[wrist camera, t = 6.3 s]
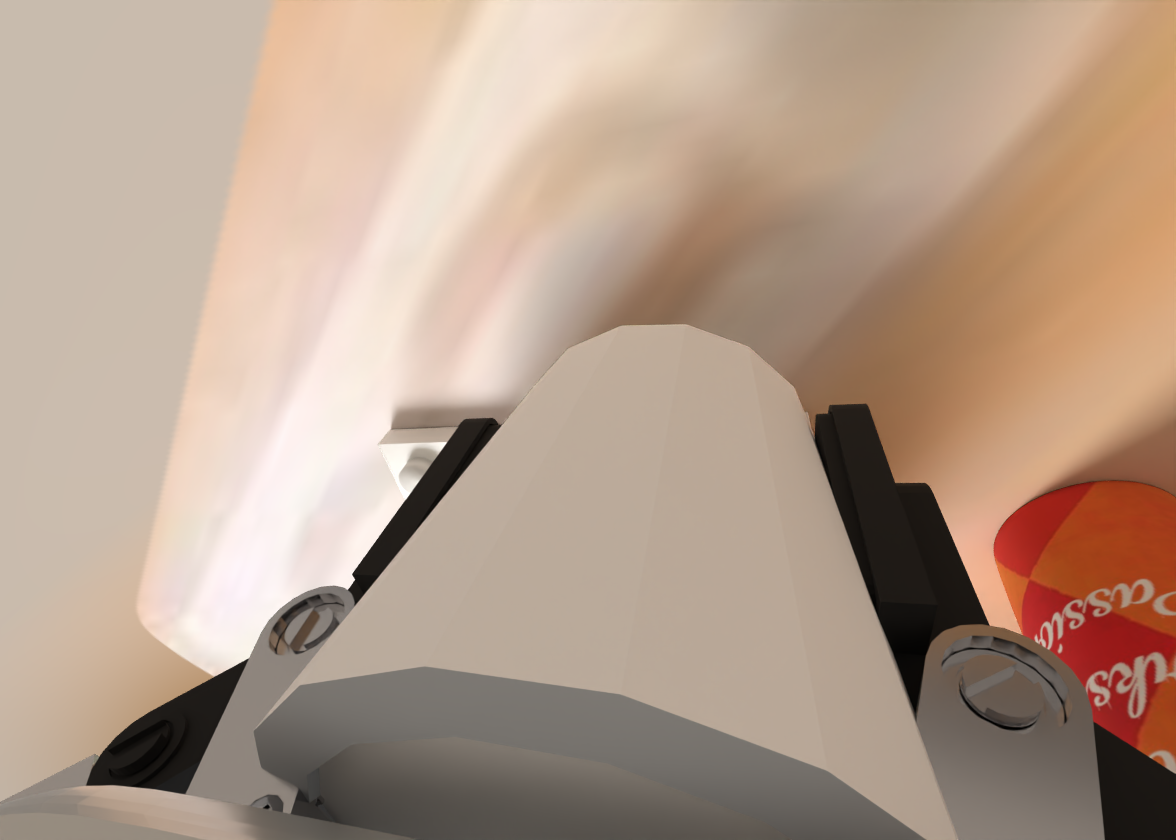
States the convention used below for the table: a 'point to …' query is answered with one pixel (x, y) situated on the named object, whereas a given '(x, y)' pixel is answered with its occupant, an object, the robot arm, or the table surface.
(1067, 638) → the paper cup
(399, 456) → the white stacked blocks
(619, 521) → the white cylinder
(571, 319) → the table surface
